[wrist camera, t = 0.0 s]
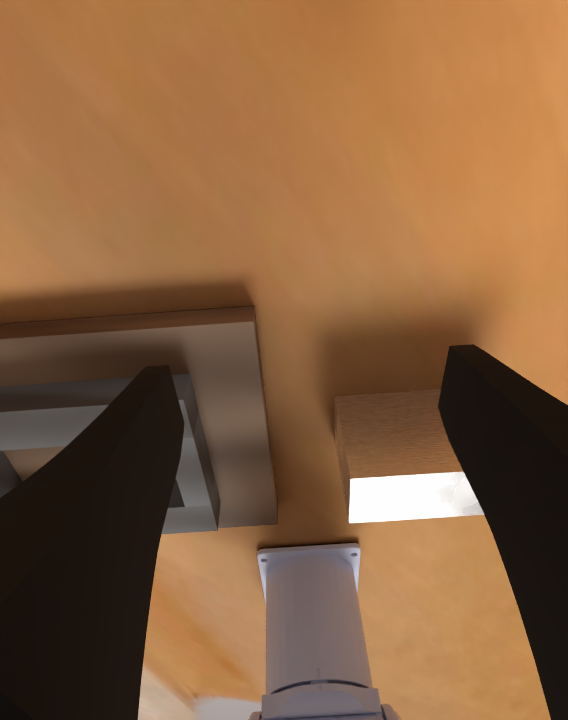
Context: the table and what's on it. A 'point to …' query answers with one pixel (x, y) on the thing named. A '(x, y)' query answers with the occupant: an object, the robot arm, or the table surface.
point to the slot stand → (111, 376)
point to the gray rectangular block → (398, 459)
